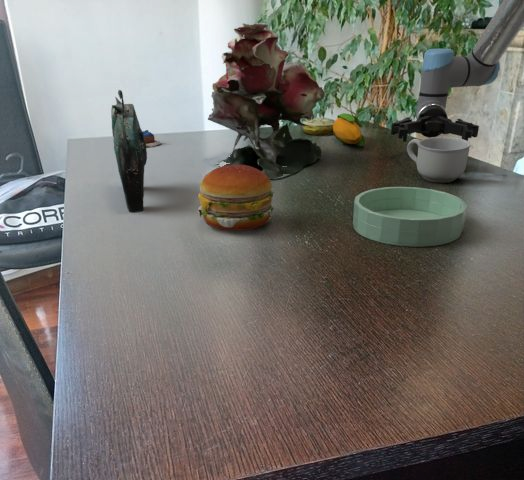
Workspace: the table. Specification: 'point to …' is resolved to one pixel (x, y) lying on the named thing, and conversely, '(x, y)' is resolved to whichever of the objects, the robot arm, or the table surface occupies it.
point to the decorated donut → (319, 126)
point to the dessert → (150, 139)
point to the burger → (236, 198)
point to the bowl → (409, 216)
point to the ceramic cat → (129, 152)
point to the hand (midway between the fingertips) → (435, 136)
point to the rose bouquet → (265, 102)
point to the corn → (348, 129)
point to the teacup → (440, 158)
